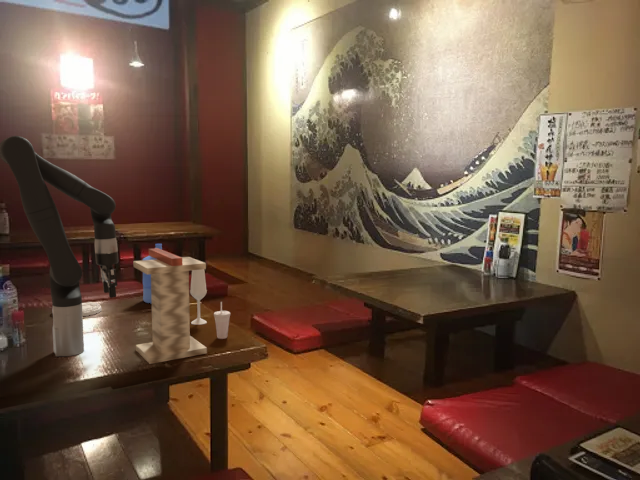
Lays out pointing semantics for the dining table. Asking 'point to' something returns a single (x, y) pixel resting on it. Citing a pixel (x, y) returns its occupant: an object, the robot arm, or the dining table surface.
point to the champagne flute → (198, 292)
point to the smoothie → (222, 323)
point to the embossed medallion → (90, 308)
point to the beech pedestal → (170, 311)
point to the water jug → (148, 280)
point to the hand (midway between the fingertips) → (109, 294)
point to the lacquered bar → (165, 257)
